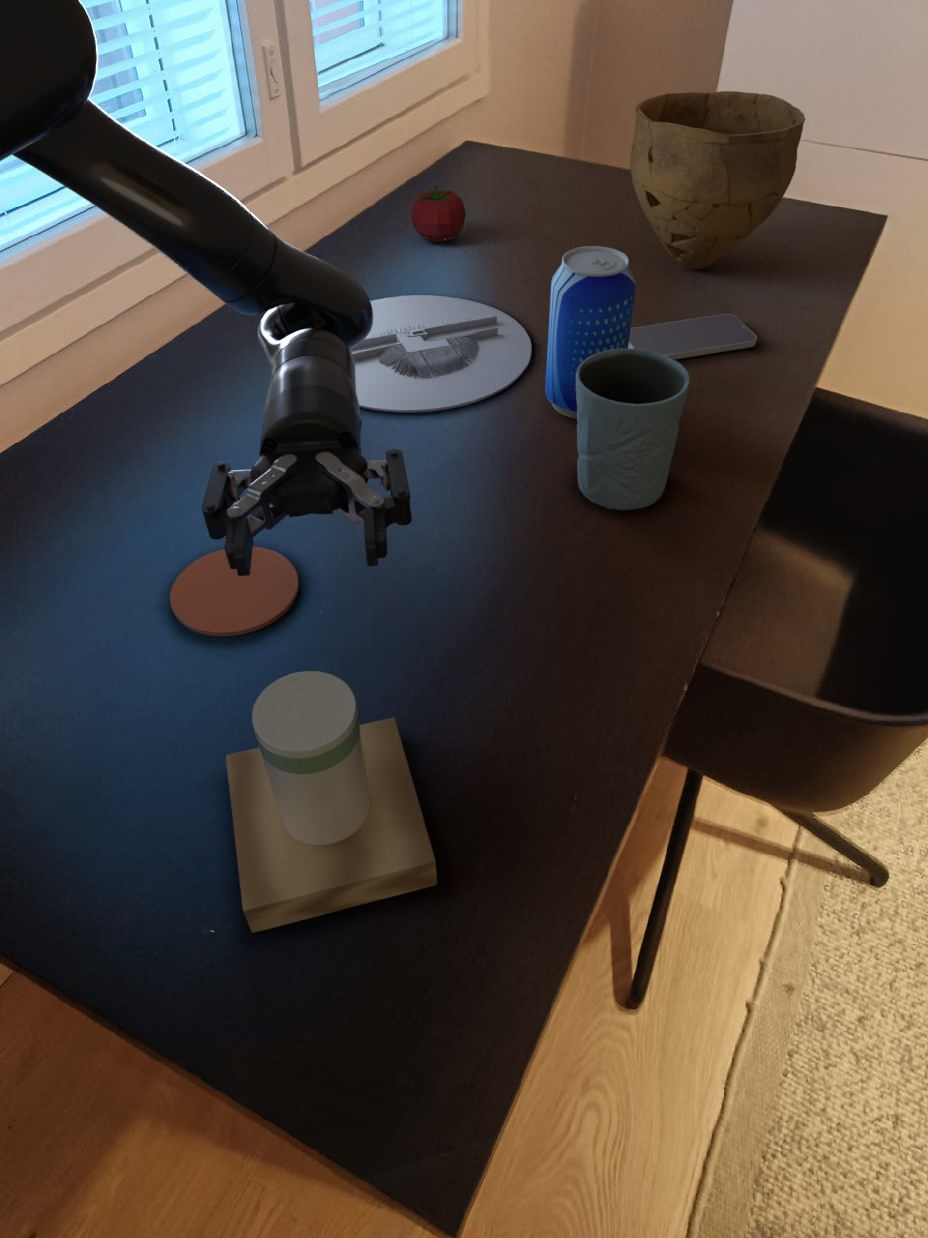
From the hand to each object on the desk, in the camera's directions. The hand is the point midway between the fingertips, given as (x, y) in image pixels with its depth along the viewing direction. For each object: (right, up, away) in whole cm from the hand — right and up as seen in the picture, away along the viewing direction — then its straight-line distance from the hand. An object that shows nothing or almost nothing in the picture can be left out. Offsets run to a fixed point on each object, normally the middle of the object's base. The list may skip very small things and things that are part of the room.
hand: (307, 561), depth 59 cm
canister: (+1, -16, 0) cm, 16 cm away
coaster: (-10, -1, +19) cm, 22 cm away
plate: (+4, +29, +49) cm, 57 cm away
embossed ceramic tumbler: (+26, +10, +30) cm, 40 cm away
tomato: (+7, +52, +73) cm, 89 cm away
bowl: (+42, +44, +65) cm, 89 cm away
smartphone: (+37, +30, +50) cm, 69 cm away
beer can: (+23, +20, +41) cm, 51 cm away
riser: (+1, -18, +2) cm, 18 cm away
